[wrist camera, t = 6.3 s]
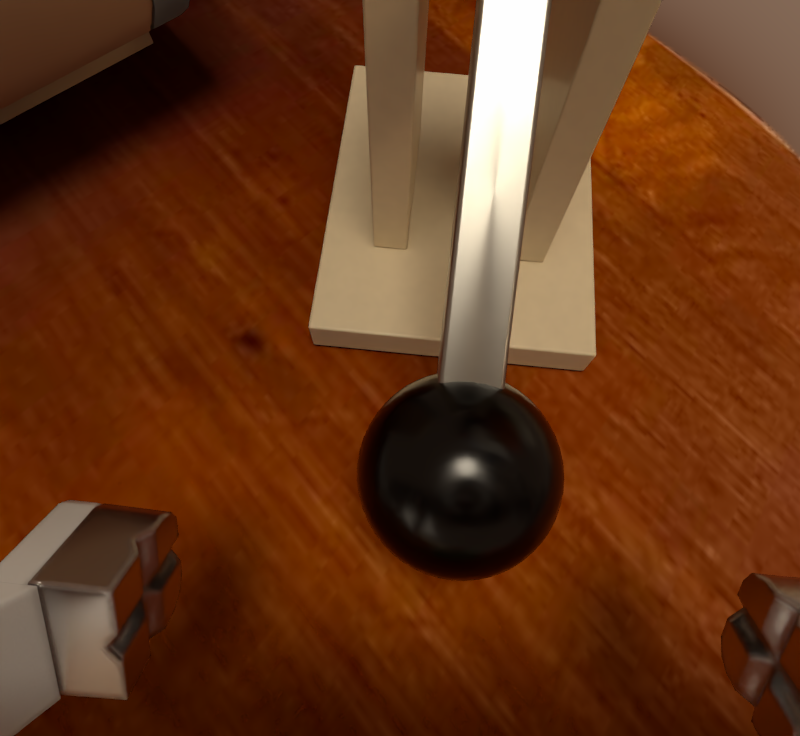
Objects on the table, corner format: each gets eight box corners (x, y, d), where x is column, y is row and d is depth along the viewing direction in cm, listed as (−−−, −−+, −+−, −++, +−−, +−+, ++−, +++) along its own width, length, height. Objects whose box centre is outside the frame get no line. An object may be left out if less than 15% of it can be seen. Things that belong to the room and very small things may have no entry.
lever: (528, 535, 12) (572, 637, 9) (360, 518, 12) (335, 611, 9) (630, -222, 10) (742, -493, 7) (427, -238, 10) (430, -513, 7)
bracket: (583, 371, 17) (1037, -159, 5) (312, 345, 17) (139, -230, 5) (578, 112, 21) (834, -545, 9) (356, 92, 21) (312, -579, 9)
